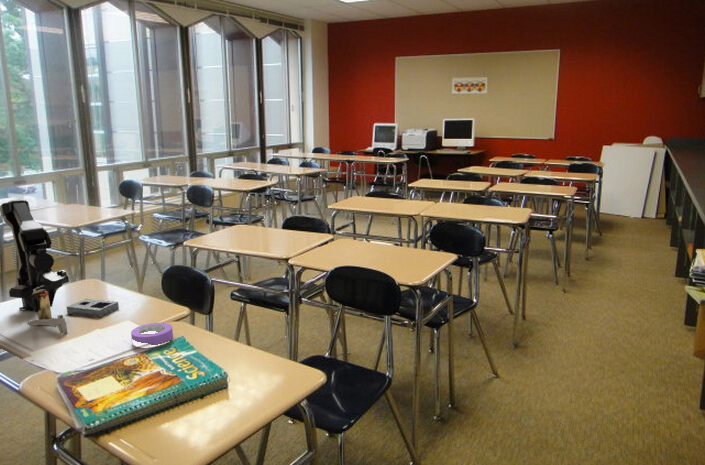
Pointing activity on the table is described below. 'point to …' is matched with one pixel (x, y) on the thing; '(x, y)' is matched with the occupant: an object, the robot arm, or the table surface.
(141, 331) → the masking tape
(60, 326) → the caliper
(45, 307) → the tan cylindrical container
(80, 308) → the grey flat block
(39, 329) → the table surface
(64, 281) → the robot arm
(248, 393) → the table surface
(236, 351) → the table surface
